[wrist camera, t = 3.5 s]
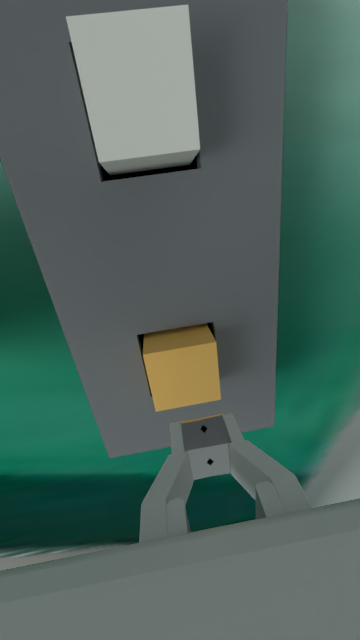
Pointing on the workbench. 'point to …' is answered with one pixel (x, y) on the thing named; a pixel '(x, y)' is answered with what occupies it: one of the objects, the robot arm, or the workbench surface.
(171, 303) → the control box
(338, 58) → the workbench surface
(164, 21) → the white key
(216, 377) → the orange key
